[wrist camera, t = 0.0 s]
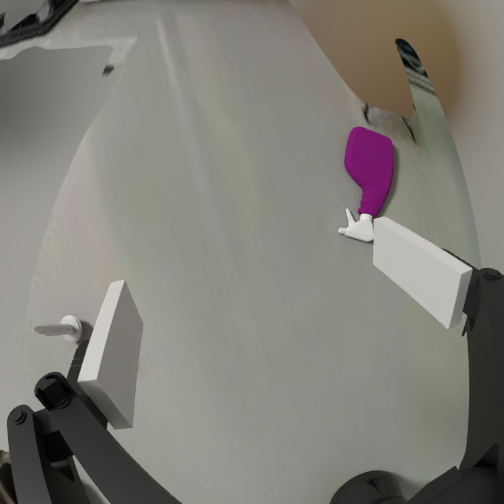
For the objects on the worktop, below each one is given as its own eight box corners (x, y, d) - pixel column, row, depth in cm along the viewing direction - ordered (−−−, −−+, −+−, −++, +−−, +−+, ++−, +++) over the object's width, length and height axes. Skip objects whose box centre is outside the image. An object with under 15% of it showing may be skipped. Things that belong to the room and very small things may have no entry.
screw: (90, 335, 47) (71, 346, 46) (80, 311, 47) (61, 322, 47) (53, 339, 34) (32, 351, 33) (41, 308, 35) (20, 321, 34)
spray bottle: (391, 146, 60) (380, 249, 55) (347, 128, 59) (329, 233, 54) (396, 139, 57) (387, 246, 52) (351, 121, 57) (334, 228, 52)
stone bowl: (-5, 469, 36) (-25, 478, 27) (31, 422, 43) (8, 431, 34) (66, 540, 33) (52, 557, 24) (114, 505, 40) (101, 525, 31)
